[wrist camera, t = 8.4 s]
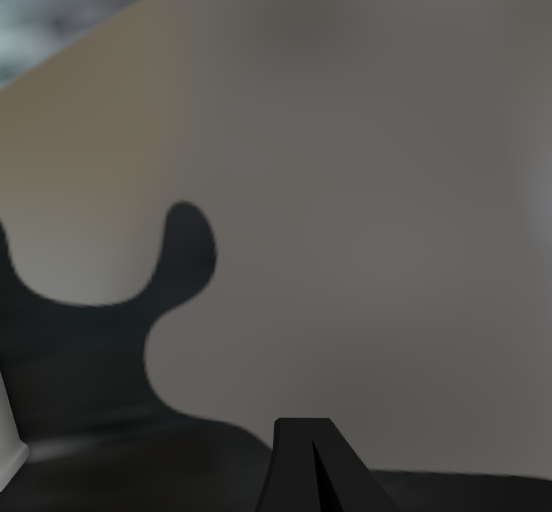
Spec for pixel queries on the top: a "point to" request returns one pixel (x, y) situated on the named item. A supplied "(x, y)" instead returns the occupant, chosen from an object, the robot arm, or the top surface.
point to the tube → (9, 441)
